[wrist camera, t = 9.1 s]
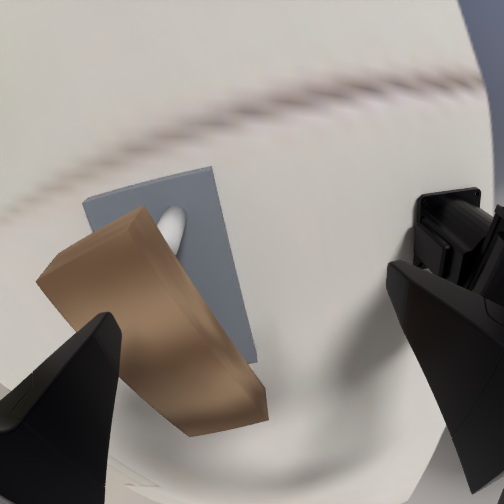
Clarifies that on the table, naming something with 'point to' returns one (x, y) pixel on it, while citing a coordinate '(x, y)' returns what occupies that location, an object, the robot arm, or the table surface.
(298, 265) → the table surface
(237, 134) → the table surface
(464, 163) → the table surface
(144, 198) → the peg stand
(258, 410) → the shelf board
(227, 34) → the table surface
